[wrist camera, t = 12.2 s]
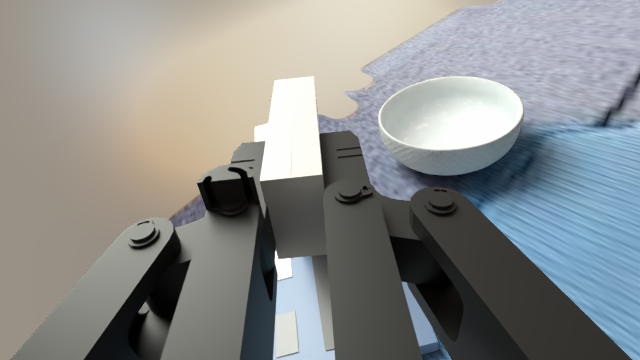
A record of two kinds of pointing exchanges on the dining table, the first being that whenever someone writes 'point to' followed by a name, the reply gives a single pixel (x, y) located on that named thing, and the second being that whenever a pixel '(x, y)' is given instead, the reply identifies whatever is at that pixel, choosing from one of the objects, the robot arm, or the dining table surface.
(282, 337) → the switch board
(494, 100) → the cereal bowl
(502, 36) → the dining table surface
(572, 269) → the dining table surface
